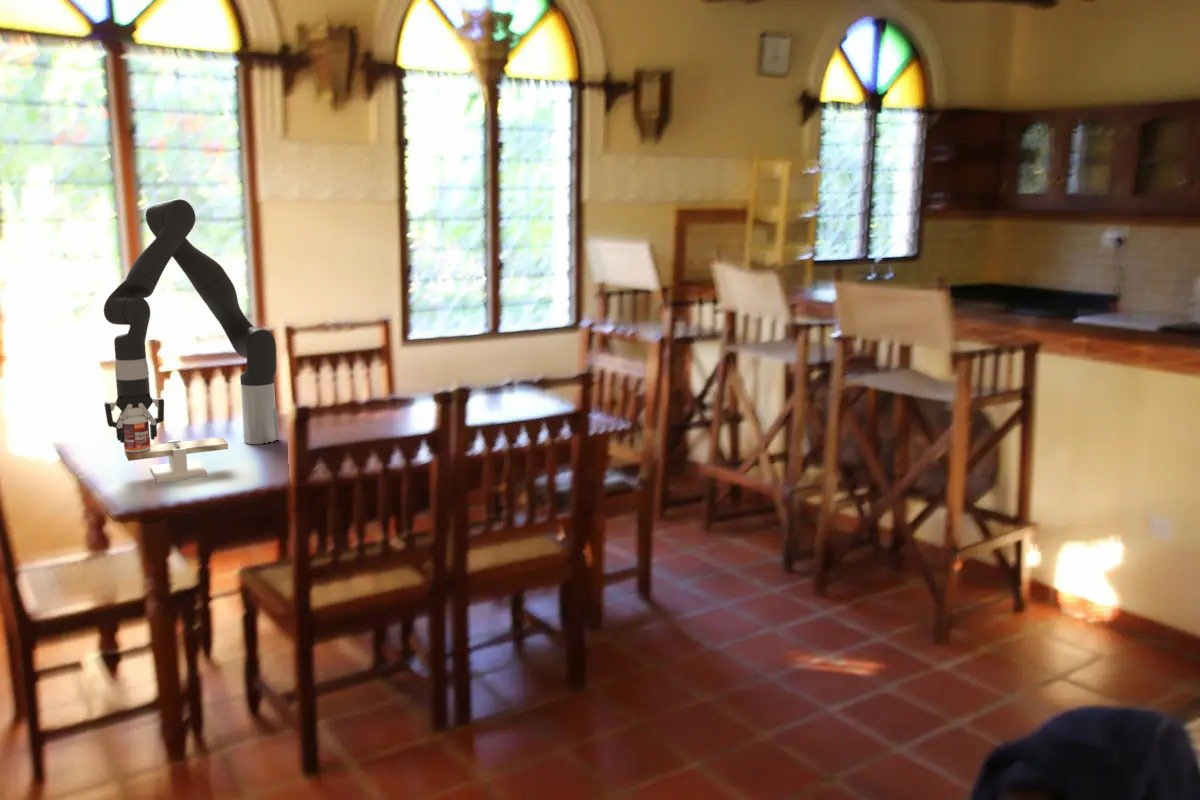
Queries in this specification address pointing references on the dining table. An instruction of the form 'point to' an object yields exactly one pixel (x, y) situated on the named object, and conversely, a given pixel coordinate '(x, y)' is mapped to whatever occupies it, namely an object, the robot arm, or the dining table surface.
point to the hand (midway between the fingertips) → (137, 440)
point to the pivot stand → (178, 467)
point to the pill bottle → (136, 431)
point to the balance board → (190, 446)
